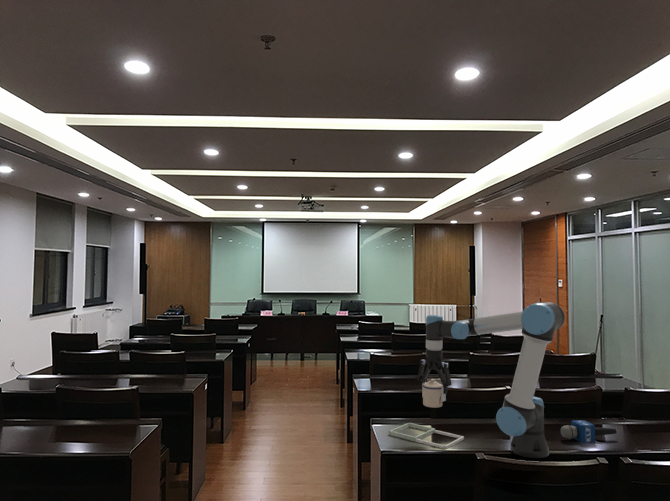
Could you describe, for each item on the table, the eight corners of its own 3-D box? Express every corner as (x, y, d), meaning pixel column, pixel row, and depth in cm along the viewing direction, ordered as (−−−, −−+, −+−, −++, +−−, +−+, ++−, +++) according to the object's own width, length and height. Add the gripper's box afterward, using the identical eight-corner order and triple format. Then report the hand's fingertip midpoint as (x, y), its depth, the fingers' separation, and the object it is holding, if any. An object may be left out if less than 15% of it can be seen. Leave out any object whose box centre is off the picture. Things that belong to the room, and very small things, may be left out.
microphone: (620, 424, 217) (566, 425, 216) (620, 442, 217) (566, 443, 215) (609, 419, 225) (557, 420, 224) (609, 436, 225) (557, 437, 223)
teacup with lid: (444, 408, 215) (444, 381, 216) (423, 407, 216) (423, 381, 217) (440, 401, 227) (441, 376, 228) (421, 400, 228) (421, 375, 229)
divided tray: (464, 439, 220) (464, 435, 220) (445, 449, 207) (445, 445, 207) (409, 426, 239) (409, 422, 239) (389, 434, 226) (389, 430, 226)
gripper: (459, 350, 218) (459, 401, 217) (417, 345, 232) (417, 393, 231) (451, 352, 212) (451, 405, 211) (409, 347, 227) (409, 396, 225)
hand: (433, 398), depth 221 cm, fingers closed on teacup with lid, 9 cm apart
